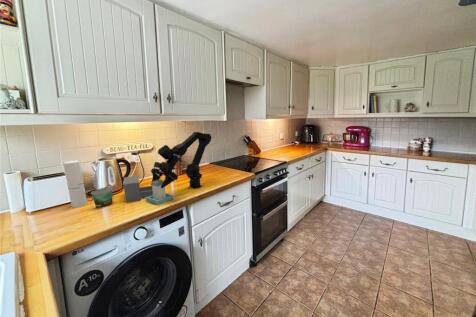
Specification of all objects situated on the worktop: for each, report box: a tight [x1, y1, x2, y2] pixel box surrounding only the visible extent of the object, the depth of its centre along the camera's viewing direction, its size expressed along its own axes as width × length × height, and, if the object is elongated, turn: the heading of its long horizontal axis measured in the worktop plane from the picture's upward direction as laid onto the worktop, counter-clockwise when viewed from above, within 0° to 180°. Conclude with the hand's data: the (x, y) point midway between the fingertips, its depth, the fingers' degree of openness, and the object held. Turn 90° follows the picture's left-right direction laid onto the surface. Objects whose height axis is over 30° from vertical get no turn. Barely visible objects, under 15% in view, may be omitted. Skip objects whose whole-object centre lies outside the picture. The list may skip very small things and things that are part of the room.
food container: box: [91, 184, 114, 209], centre depth 121 cm, size 12×6×10 cm, turn 168°
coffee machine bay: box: [123, 175, 153, 204], centre depth 133 cm, size 17×16×11 cm
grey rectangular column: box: [62, 160, 88, 208], centre depth 120 cm, size 7×7×25 cm
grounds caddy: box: [151, 179, 167, 200], centre depth 125 cm, size 5×5×11 cm
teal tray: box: [145, 192, 174, 206], centre depth 126 cm, size 11×11×2 cm
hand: (156, 186), depth 123 cm, fingers open, 9 cm apart
